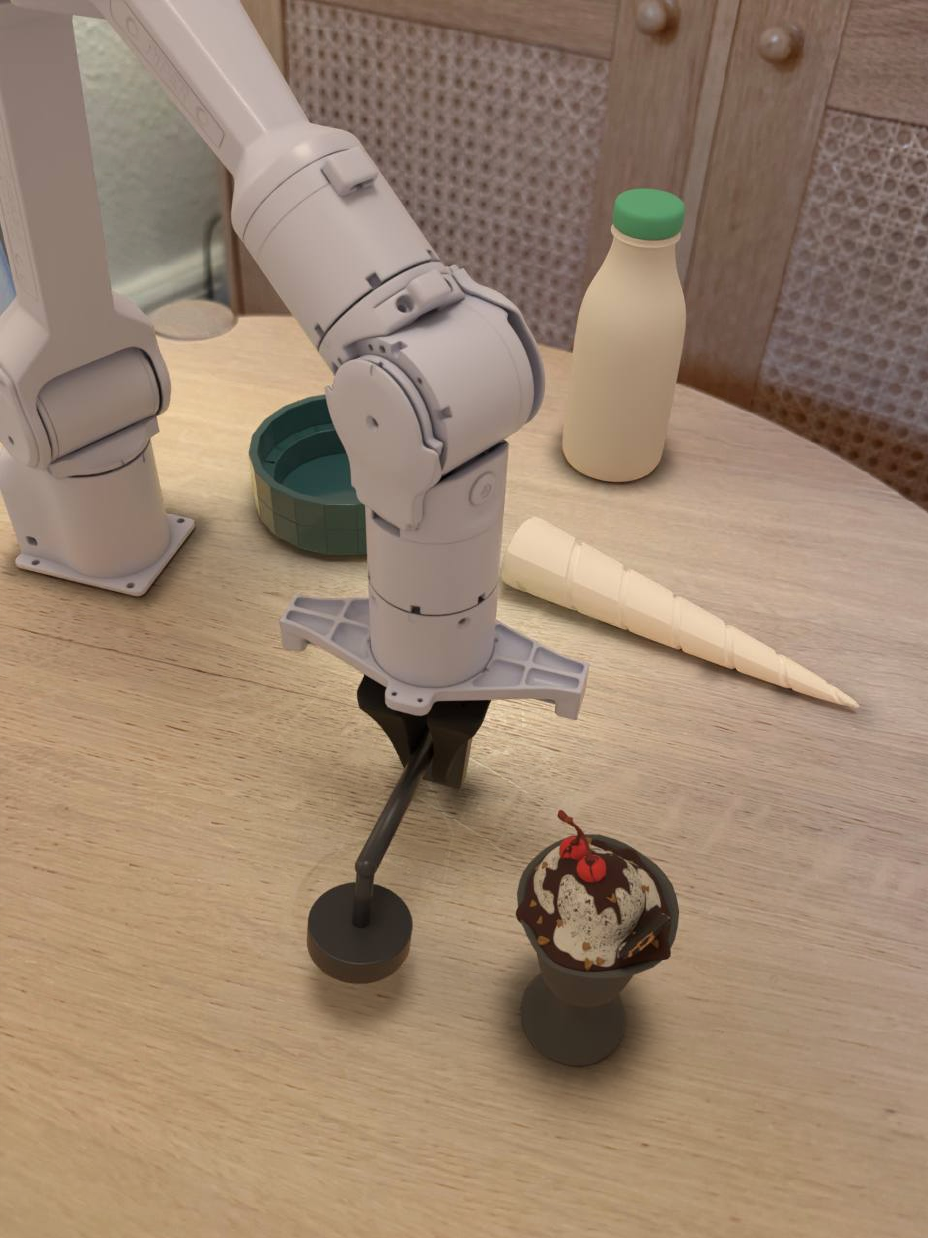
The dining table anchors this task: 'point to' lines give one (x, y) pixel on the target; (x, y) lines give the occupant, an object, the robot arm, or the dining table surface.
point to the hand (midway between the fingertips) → (430, 764)
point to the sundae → (590, 940)
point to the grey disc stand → (374, 890)
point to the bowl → (306, 481)
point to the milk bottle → (628, 344)
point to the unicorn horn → (643, 607)
